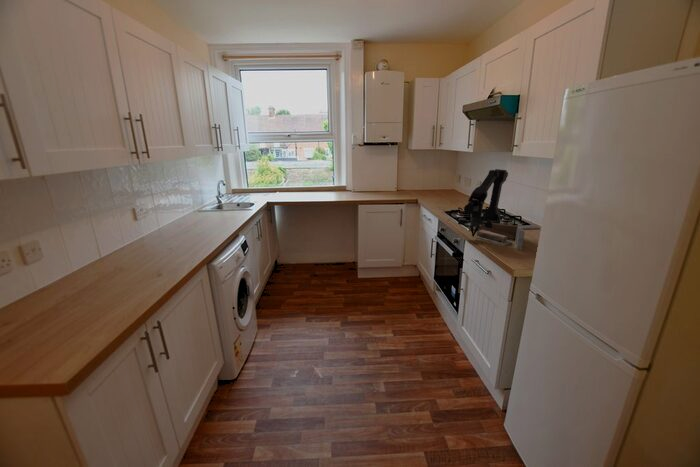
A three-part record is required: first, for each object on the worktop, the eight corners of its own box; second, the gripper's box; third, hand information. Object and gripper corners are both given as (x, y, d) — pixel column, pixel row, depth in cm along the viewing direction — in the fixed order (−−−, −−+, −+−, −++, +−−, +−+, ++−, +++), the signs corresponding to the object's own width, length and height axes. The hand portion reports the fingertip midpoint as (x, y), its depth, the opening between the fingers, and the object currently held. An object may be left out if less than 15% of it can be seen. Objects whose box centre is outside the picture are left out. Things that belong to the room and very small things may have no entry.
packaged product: (475, 231, 183) (483, 228, 189) (474, 238, 185) (482, 235, 190) (504, 239, 170) (512, 235, 176) (503, 247, 171) (511, 243, 177)
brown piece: (476, 233, 192) (479, 218, 189) (518, 238, 183) (521, 223, 180) (475, 244, 174) (477, 227, 171) (521, 250, 165) (524, 233, 162)
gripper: (459, 212, 173) (455, 238, 178) (494, 216, 166) (490, 242, 171) (460, 208, 183) (457, 232, 188) (494, 211, 176) (489, 237, 181)
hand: (473, 236), depth 182 cm, fingers closed
